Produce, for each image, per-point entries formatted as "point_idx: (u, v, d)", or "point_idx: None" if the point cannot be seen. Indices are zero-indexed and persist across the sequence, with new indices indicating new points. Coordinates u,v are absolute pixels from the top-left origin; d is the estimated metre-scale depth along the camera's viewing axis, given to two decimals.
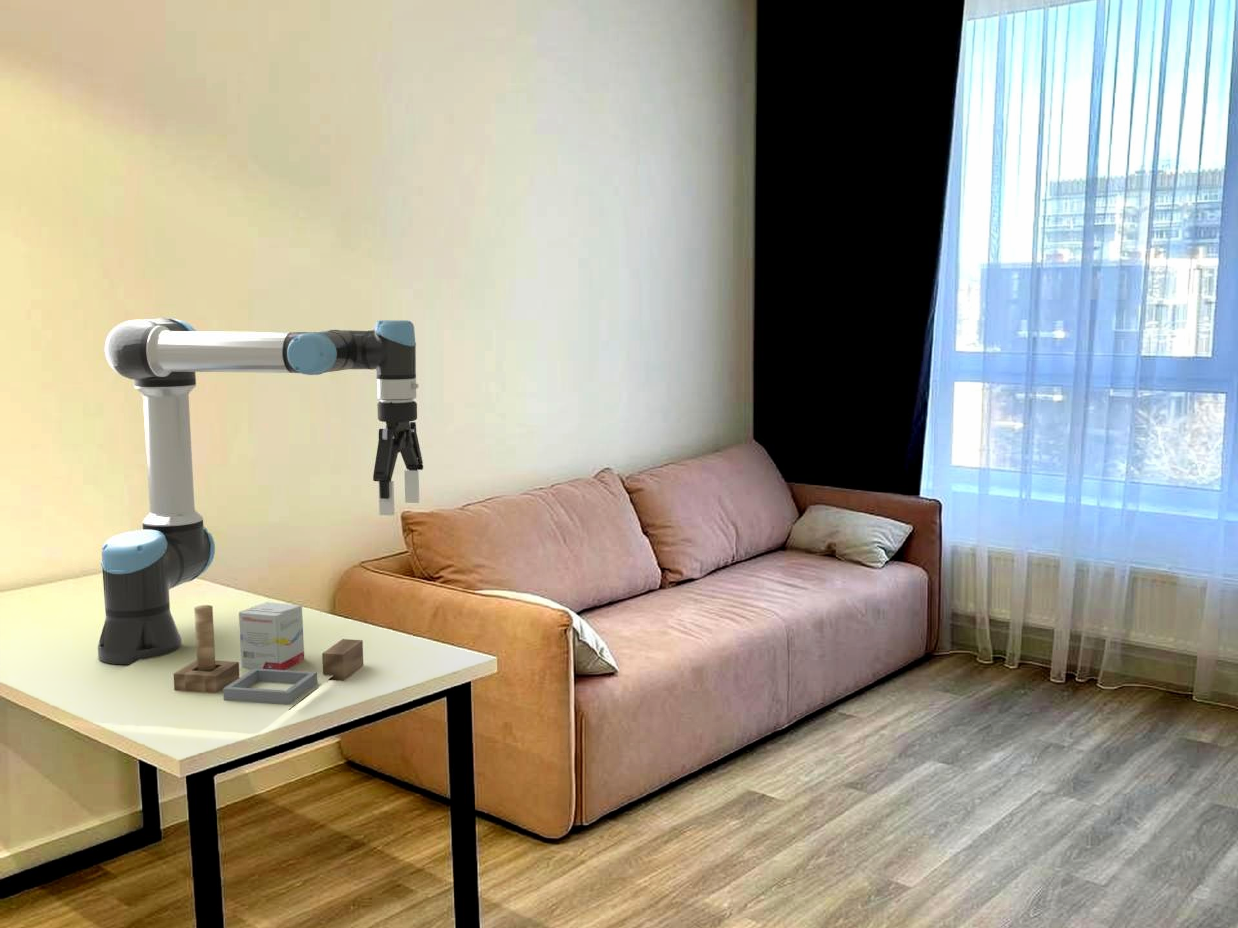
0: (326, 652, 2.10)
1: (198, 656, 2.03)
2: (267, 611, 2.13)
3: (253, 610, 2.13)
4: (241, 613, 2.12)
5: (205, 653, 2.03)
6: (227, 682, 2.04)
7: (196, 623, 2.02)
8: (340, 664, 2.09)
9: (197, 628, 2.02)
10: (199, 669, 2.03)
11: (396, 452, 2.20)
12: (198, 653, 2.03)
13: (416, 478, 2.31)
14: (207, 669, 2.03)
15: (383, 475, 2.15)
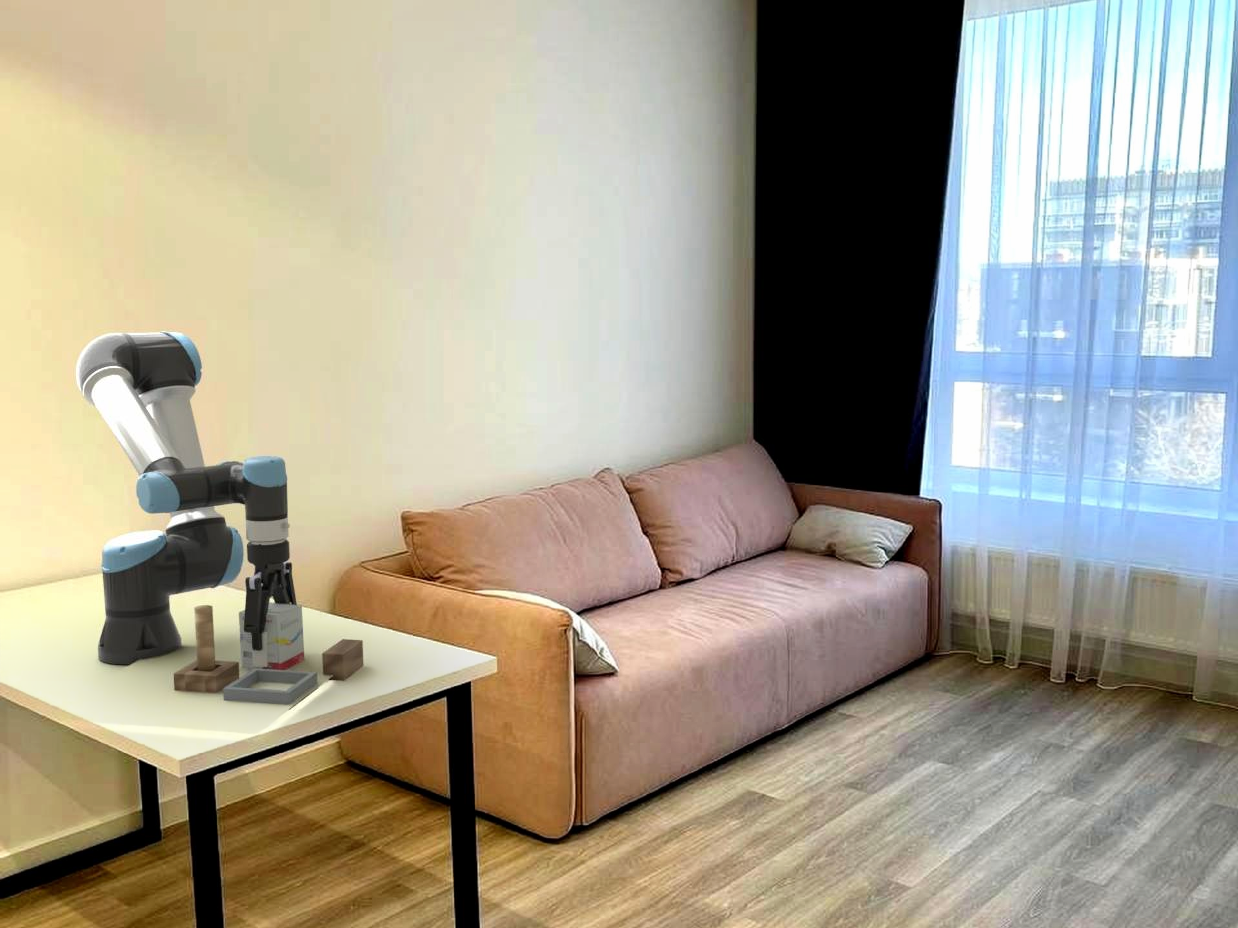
0: (326, 652, 2.10)
1: (198, 656, 2.03)
2: (267, 611, 2.12)
3: None
4: (241, 613, 2.12)
5: (205, 653, 2.03)
6: (227, 682, 2.04)
7: (196, 623, 2.02)
8: (340, 664, 2.09)
9: (197, 628, 2.02)
10: (199, 669, 2.03)
11: (267, 598, 2.11)
12: (198, 653, 2.03)
13: None
14: (207, 669, 2.03)
15: (254, 629, 2.07)
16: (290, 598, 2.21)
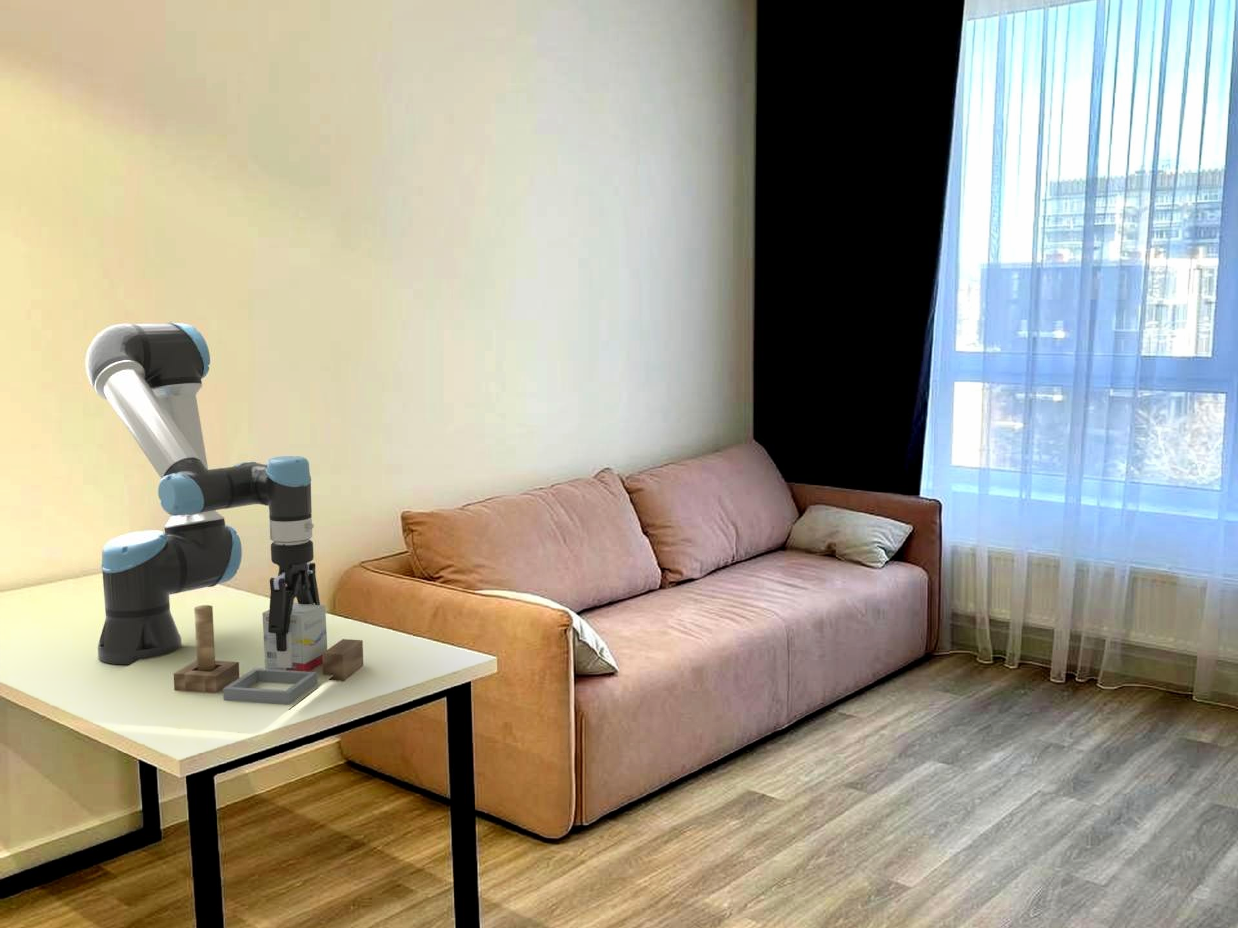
0: (326, 652, 2.10)
1: (198, 656, 2.03)
2: None
3: None
4: (265, 613, 2.11)
5: (205, 653, 2.03)
6: (227, 682, 2.04)
7: (196, 623, 2.02)
8: (340, 664, 2.09)
9: (197, 628, 2.02)
10: (199, 669, 2.03)
11: (291, 599, 2.10)
12: (198, 653, 2.03)
13: None
14: (207, 669, 2.03)
15: (278, 629, 2.06)
16: (314, 599, 2.20)
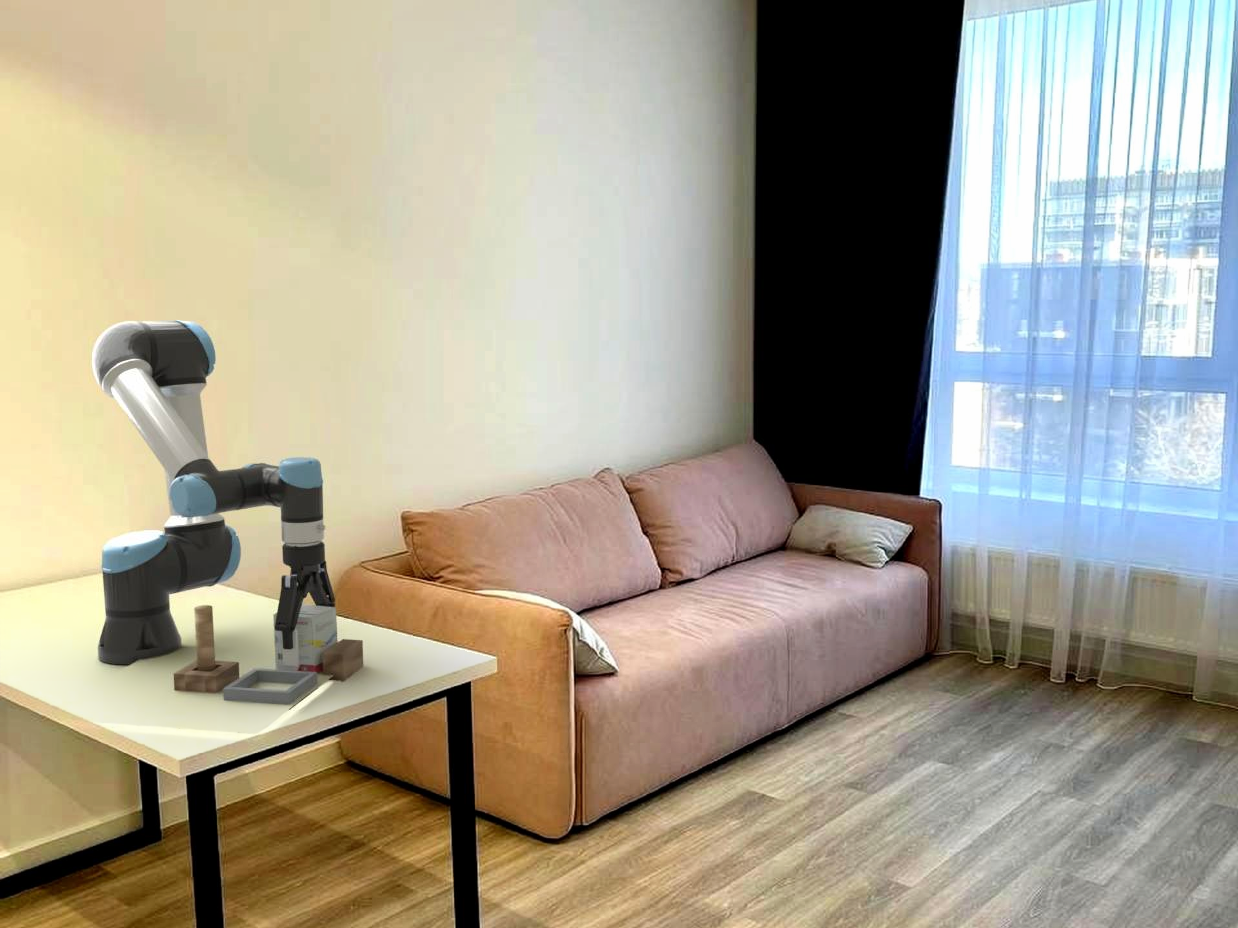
0: (326, 652, 2.10)
1: (198, 656, 2.03)
2: (302, 613, 2.11)
3: None
4: (276, 615, 2.11)
5: (205, 653, 2.02)
6: (227, 682, 2.04)
7: (196, 623, 2.02)
8: (340, 664, 2.09)
9: (197, 628, 2.02)
10: (199, 669, 2.03)
11: (301, 598, 2.09)
12: (198, 653, 2.03)
13: None
14: (207, 669, 2.03)
15: (285, 626, 2.04)
16: (327, 593, 2.21)
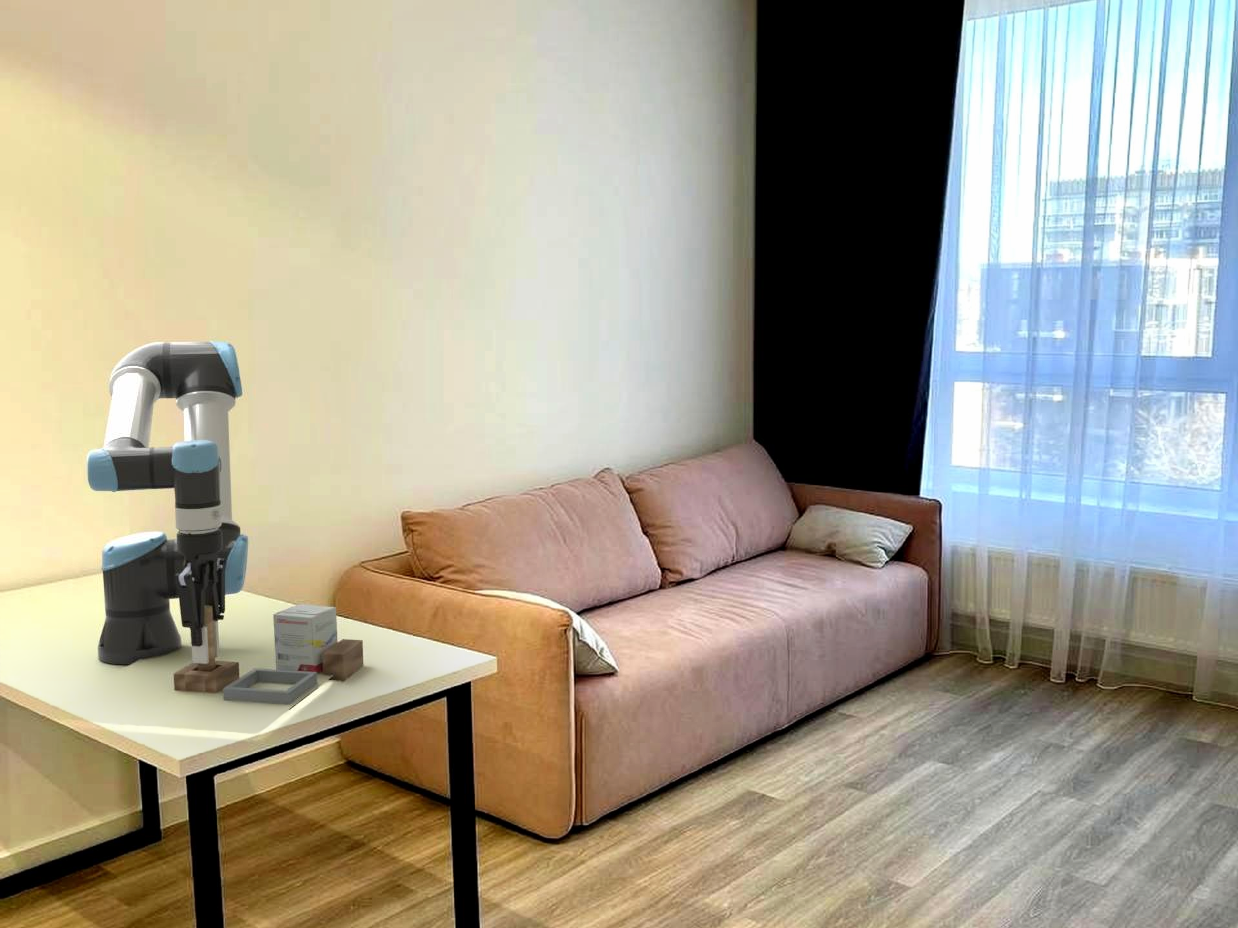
0: (326, 652, 2.10)
1: None
2: (302, 613, 2.11)
3: (288, 612, 2.12)
4: (276, 615, 2.11)
5: None
6: (227, 682, 2.04)
7: None
8: (340, 664, 2.09)
9: None
10: (199, 669, 2.03)
11: (202, 591, 2.00)
12: None
13: (215, 630, 2.05)
14: (207, 669, 2.03)
15: (192, 625, 1.98)
16: (219, 598, 2.07)
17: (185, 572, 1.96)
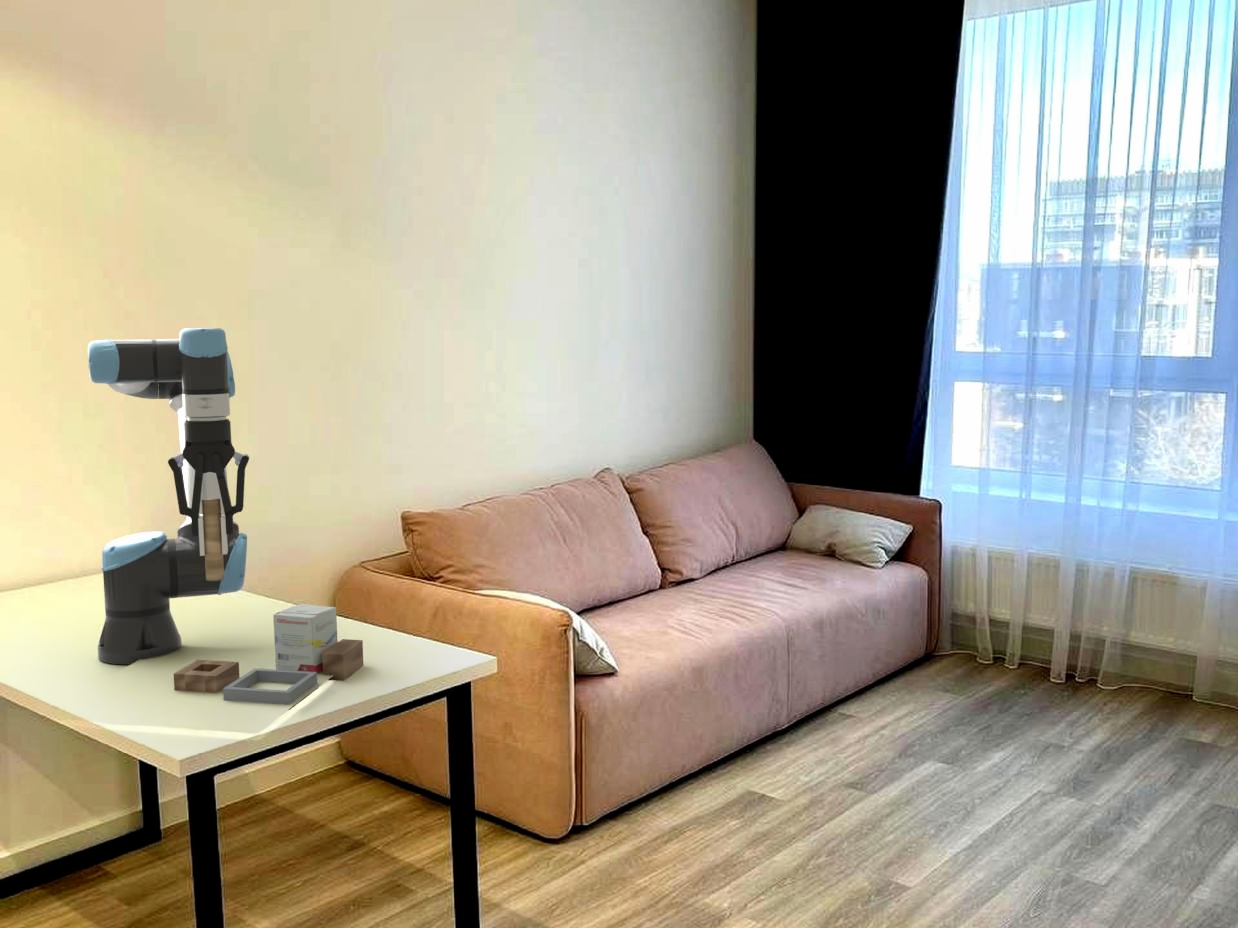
0: (326, 652, 2.10)
1: None
2: (302, 613, 2.11)
3: (288, 612, 2.12)
4: (276, 615, 2.11)
5: (205, 546, 1.99)
6: (227, 682, 2.04)
7: None
8: (340, 664, 2.09)
9: None
10: None
11: (197, 481, 1.97)
12: None
13: (221, 525, 1.99)
14: (206, 563, 1.99)
15: None
16: (236, 495, 1.99)
17: (175, 457, 1.96)
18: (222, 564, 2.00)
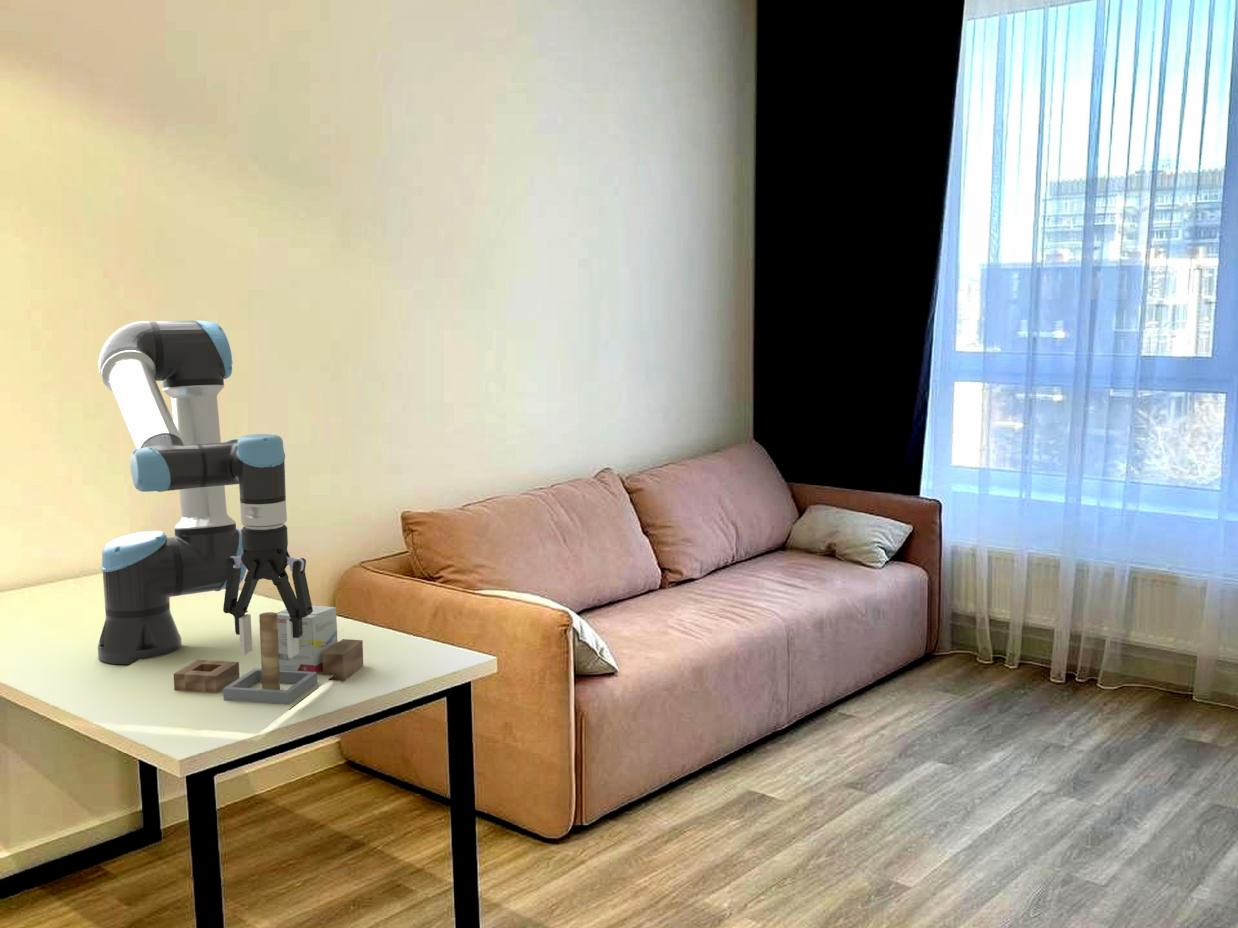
0: (326, 652, 2.10)
1: None
2: None
3: None
4: None
5: (261, 659, 2.00)
6: (227, 682, 2.04)
7: None
8: (340, 664, 2.09)
9: None
10: None
11: (246, 584, 1.98)
12: None
13: None
14: None
15: None
16: None
17: (235, 557, 1.98)
18: (276, 679, 2.00)
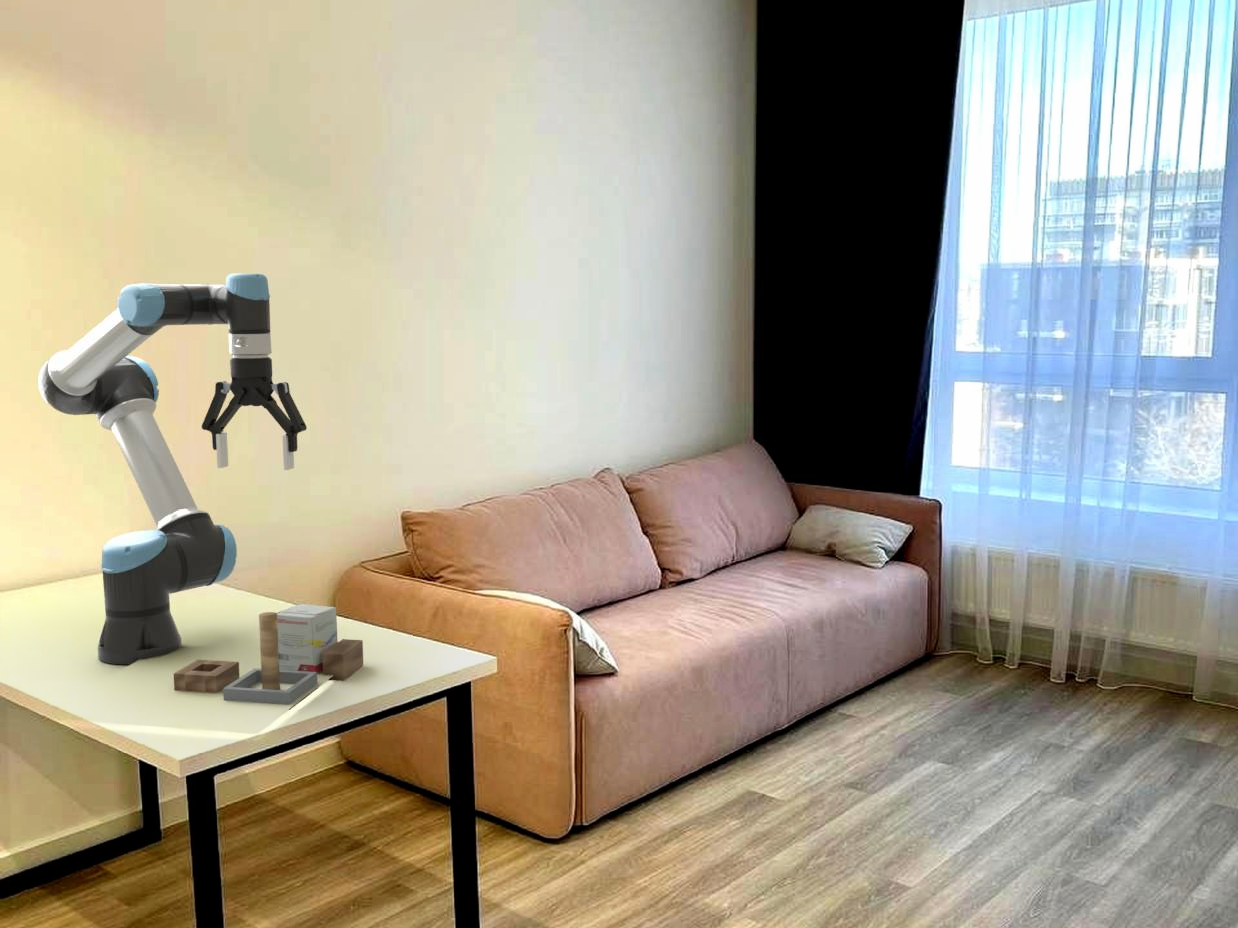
0: (326, 652, 2.10)
1: None
2: (302, 613, 2.11)
3: (288, 612, 2.12)
4: None
5: None
6: (227, 682, 2.04)
7: None
8: (340, 664, 2.09)
9: None
10: None
11: (229, 407, 2.18)
12: None
13: None
14: None
15: None
16: None
17: (225, 383, 2.19)
18: (276, 679, 2.00)
